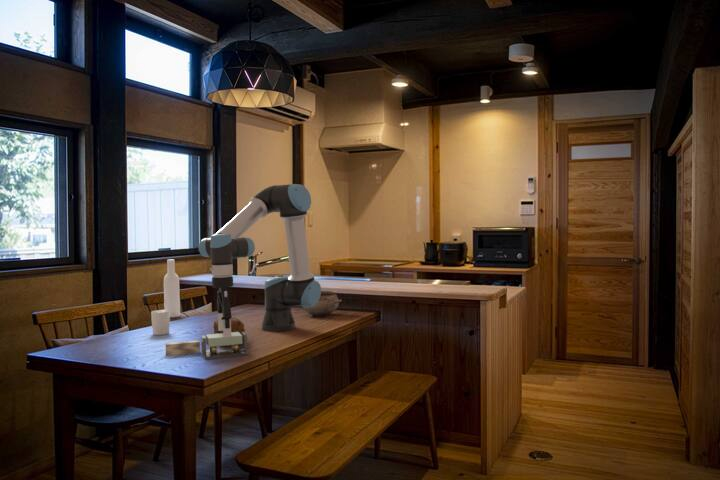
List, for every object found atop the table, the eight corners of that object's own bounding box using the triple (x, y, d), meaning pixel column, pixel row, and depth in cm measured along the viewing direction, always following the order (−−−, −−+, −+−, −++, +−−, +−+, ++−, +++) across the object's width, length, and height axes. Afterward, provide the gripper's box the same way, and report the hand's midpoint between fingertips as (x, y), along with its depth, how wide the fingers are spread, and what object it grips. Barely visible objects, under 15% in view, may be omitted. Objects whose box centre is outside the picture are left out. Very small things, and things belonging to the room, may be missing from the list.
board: (238, 339, 219) (238, 331, 219) (242, 343, 211) (242, 335, 211) (206, 342, 215) (205, 334, 214) (208, 346, 207) (208, 338, 207)
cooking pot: (289, 317, 296) (289, 293, 295) (310, 311, 312) (310, 289, 312) (331, 320, 283) (331, 295, 283) (350, 314, 300) (350, 290, 300)
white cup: (164, 335, 252) (163, 312, 252) (148, 335, 254) (147, 312, 253) (173, 332, 260) (173, 309, 260) (157, 331, 261) (157, 309, 261)
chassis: (243, 348, 221) (242, 330, 221) (248, 355, 210) (248, 336, 210) (200, 352, 216) (200, 334, 216) (204, 359, 205) (203, 339, 204)
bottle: (171, 318, 300) (170, 260, 299) (161, 317, 304) (159, 259, 303) (183, 315, 307) (181, 259, 306) (173, 314, 311) (171, 258, 310)
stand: (199, 350, 220) (198, 340, 219) (200, 352, 217) (199, 341, 217) (165, 354, 215) (165, 343, 215) (166, 355, 212) (165, 344, 212)
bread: (245, 345, 229) (244, 320, 228) (217, 347, 225) (217, 322, 225) (239, 337, 246) (238, 313, 246) (213, 339, 243) (212, 315, 242)
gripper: (207, 273, 223) (210, 328, 224) (216, 280, 199) (218, 341, 200) (227, 272, 225) (230, 326, 226) (238, 278, 202) (240, 339, 203)
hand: (224, 333), depth 213 cm, fingers open, 13 cm apart
